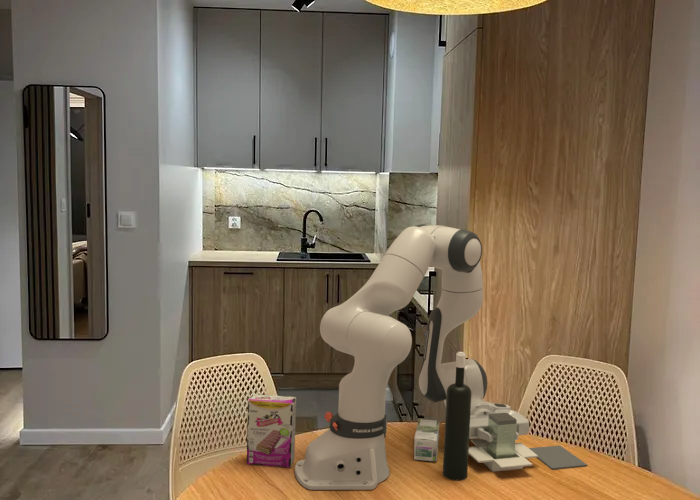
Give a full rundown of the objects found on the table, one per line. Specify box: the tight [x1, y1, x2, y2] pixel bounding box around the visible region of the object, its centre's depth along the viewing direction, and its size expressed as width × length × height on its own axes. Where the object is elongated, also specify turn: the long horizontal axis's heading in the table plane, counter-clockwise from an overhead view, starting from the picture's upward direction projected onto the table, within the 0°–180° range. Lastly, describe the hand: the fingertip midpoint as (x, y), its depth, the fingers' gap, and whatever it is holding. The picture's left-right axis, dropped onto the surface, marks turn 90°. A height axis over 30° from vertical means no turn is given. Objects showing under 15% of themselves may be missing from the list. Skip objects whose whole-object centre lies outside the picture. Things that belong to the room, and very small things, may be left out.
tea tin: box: [487, 413, 517, 459], centre depth 161 cm, size 5×5×12 cm
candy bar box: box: [246, 393, 297, 469], centre depth 157 cm, size 11×5×16 cm, turn 84°
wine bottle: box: [442, 351, 471, 481], centre depth 153 cm, size 6×6×30 cm
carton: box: [468, 438, 538, 472], centre depth 161 cm, size 16×16×3 cm
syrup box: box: [413, 418, 440, 462], centre depth 168 cm, size 6×6×14 cm
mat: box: [528, 445, 588, 471], centre depth 166 cm, size 10×12×1 cm
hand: (504, 438), depth 160 cm, fingers closed on tea tin, 5 cm apart
